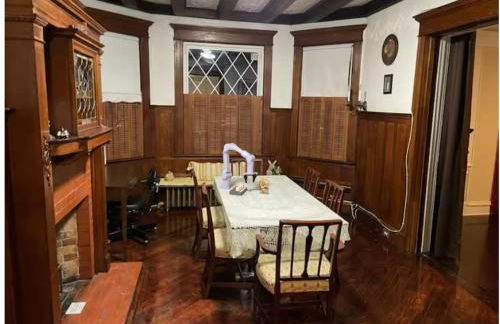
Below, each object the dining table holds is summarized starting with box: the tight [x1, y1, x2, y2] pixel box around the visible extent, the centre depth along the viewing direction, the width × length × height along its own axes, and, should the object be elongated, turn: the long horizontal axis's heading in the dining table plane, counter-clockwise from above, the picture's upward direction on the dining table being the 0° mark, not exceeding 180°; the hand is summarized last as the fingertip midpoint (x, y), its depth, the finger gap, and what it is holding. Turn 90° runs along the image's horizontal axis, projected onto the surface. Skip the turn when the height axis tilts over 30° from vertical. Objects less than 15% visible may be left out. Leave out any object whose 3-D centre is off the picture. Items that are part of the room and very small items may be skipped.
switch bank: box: [228, 185, 248, 197], centre depth 343 cm, size 11×21×3 cm, turn 166°
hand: (249, 182), depth 341 cm, fingers open, 7 cm apart
